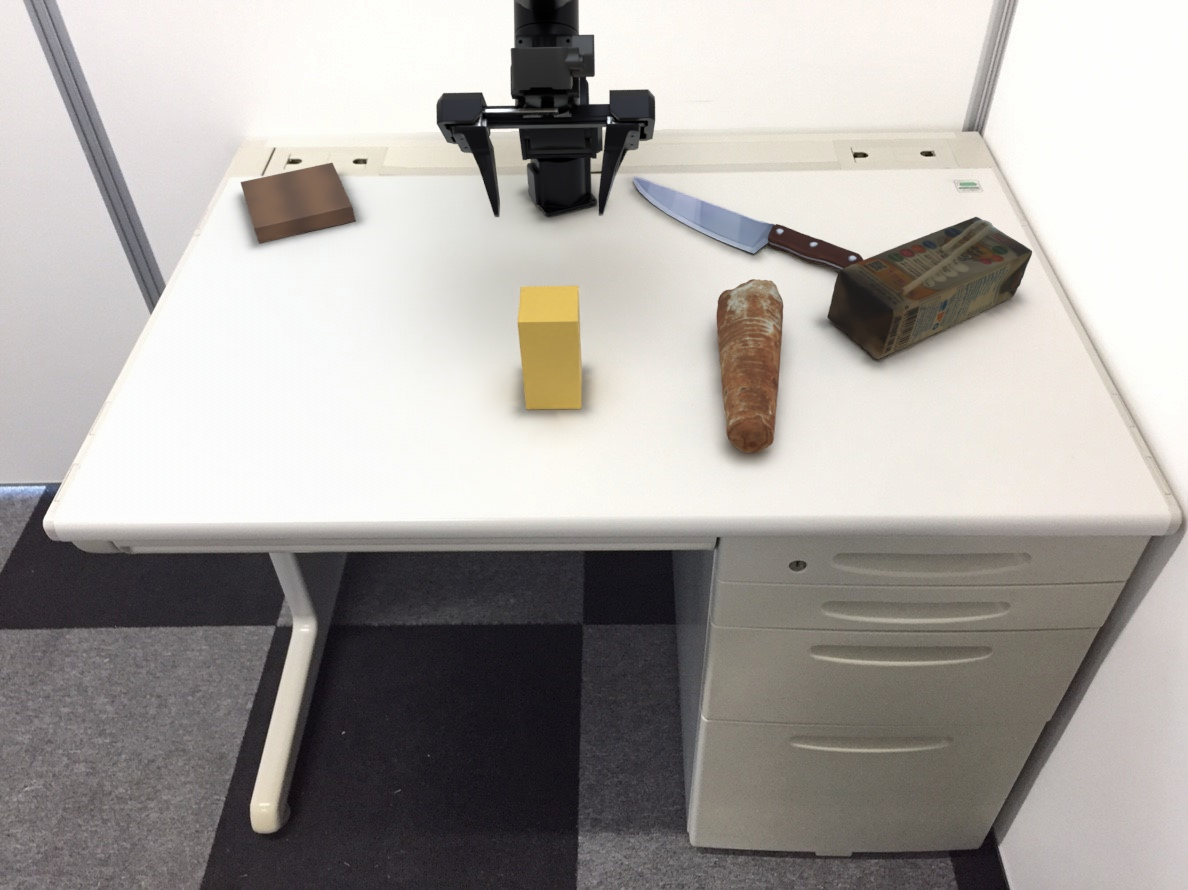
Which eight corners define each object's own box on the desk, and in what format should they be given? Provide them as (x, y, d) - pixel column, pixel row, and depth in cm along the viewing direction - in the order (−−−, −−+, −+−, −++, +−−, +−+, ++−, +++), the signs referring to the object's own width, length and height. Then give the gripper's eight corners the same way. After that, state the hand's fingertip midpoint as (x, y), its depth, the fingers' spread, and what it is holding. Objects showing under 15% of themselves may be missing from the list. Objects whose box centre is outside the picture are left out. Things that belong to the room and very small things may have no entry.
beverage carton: (1019, 300, 93) (1040, 244, 88) (877, 366, 86) (892, 310, 81) (960, 261, 98) (977, 207, 93) (821, 322, 91) (832, 266, 86)
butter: (529, 373, 87) (520, 286, 79) (581, 372, 86) (578, 285, 79) (526, 409, 83) (517, 322, 76) (581, 409, 83) (577, 321, 76)
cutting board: (336, 177, 113) (332, 162, 111) (355, 221, 106) (352, 206, 104) (245, 196, 110) (240, 181, 109) (258, 243, 103) (253, 228, 101)
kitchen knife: (844, 288, 94) (848, 272, 93) (610, 200, 109) (610, 185, 107) (866, 269, 97) (869, 254, 95) (634, 185, 111) (634, 171, 110)
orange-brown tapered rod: (779, 324, 91) (787, 277, 87) (777, 463, 78) (786, 416, 74) (715, 319, 92) (720, 273, 88) (703, 456, 78) (707, 409, 74)
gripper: (421, -5, 73) (424, 193, 73) (657, -9, 72) (659, 189, 72) (446, 53, 84) (449, 224, 84) (651, 49, 83) (653, 221, 84)
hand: (548, 215), depth 81 cm, fingers open, 9 cm apart
